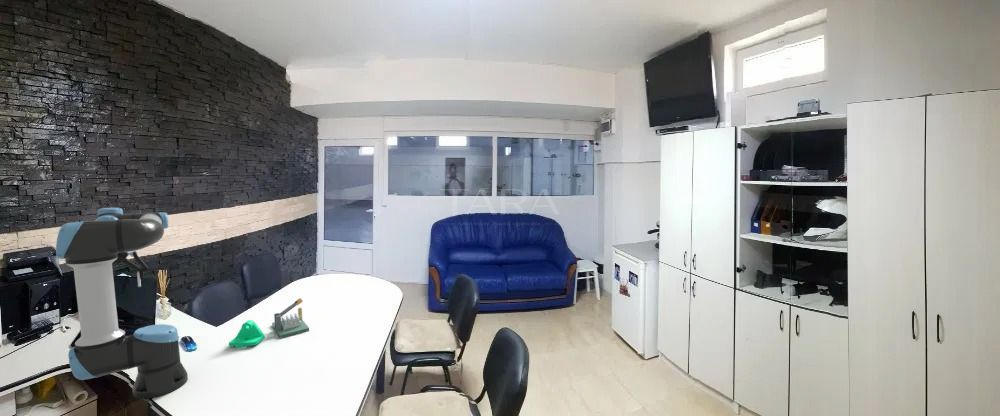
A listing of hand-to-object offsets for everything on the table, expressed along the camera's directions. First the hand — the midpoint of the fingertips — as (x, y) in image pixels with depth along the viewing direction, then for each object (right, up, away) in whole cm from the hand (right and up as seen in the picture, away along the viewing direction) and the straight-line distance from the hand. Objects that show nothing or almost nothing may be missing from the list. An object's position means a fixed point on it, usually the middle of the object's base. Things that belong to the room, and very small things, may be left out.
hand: (118, 289), depth 159 cm
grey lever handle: (+62, -17, +26) cm, 69 cm away
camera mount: (+51, -29, +10) cm, 59 cm away
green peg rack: (+62, -26, +27) cm, 72 cm away
